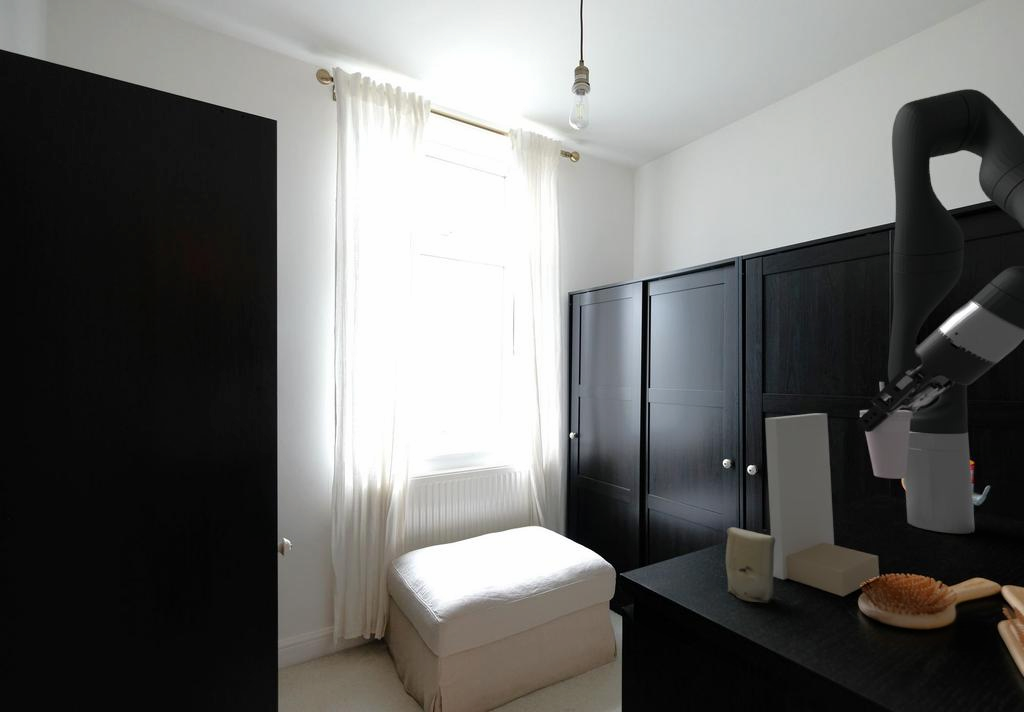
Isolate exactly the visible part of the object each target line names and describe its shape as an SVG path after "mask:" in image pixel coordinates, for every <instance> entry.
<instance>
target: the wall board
mask: <svg viewBox="0 0 1024 712" xmlns="http://www.w3.org/2000/svg"><path fill="white" fill-rule="evenodd" d="M764 420H765V438H766V439H765V441H766V442H765V443H766V461H767V462H766V463H767V466H766V467H767V480H768V481H767V482H768V483H767V484H768V503H769V504H768V506H769V525H770V536H772V537H774V538H775V544H774V566H773V578H776V579H780V580H782V581H785V580H787V579H790V580H791V581H794V582H798V583H801V584H804V585H807V586H810V587H813V588H816V589H820V590H822V591H826V592H829V593H832V594H833V595H834V594H835V595H837V596H840V597H845V596H847V595H849V594H851V593H853V592H855V591H857V590H859V589H861V588H860V584H861V583H862V582H865V581H868V580H869V579H871V578H874V577H877V576H879V577H880V568H879V555H876V554H872V553H869V552H868V553H867V552H863V551H860V550H859V551H858V550H855V549H850V548H847V547H843V546H839V545H836V544H835V536H834V535H835V534H834V519H833V518H834V517H833V516H834V515H833V502H832V501H833V499H832V498H833V497H832V481H831V480H832V479H831V465H830V464H831V463H830V462H831V461H830V444H829V443H830V442H829V429H828V428H829V427H828V413H820V412H819V413H818V412H817V413H807V414H805V413H804V414H796V415H795V414H794V415H785V416H783V415H782V416H775V417H774V416H773V417H766V418H764Z"/></svg>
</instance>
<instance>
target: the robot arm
mask: <svg viewBox="0 0 1024 712" xmlns="http://www.w3.org/2000/svg"><path fill="white" fill-rule="evenodd" d="M892 126H893V127H892V132H891V133H892V135H891V149H892V150H891V151H892V164H893V165H892V166H893V178H894V190H895V193H894V195H895V219H894V221H895V222H894V223H895V225H894V241H893V242H894V243H893V259H892V261H893V262H892V265H893V268H892V270H893V271H892V273H893V276H892V278H893V281H892V282H893V283H892V284H893V285H892V286H893V288H892V289H893V311H892V313H893V314H892V325H891V335H890V342H889V343H890V344H889V352H888V363H887V377H888V383H887V384H886V385H884V388H883V389H882V390H881V391H880V390H879V392H877V394H876V395H875V396H874V397H872V398H871V400H870V402H871V403H872V404H873V406H871V408H869V409H867V410H868V411H867V412H866V413H865V414H864V415H863V416H862V417H860V416H859V418H858V419H857V420H856V424H857V426H859V427H860V428H861V429H862V430H863V431H864V432H865V431H866V432H871V431H873V430H874V429H875V428H876V427H878V426H879V425H880V424H881V423H882V422H883V421H885V420H886V419H887V418H888V417H889V416H890V415H893V414H894V413H895V412H896V411H898V410H907V411H912V415H913V418H911V419H910V431H909V443H908V455H907V466H906V478H904V484H905V499H906V517H907V519H906V520H907V523H908V524H909V525H911V526H913V527H916V528H919V529H923V530H928V531H932V532H940V533H947V534H971V532H972V533H975V531H976V529H975V528H976V527H975V516H974V500H973V497H974V496H973V483H972V472H971V471H972V470H971V459H970V458H971V457H970V455H971V454H970V443H969V428H968V417H969V416H968V392H967V391H968V390H967V389H968V386H969V385H971V384H973V383H974V382H976V381H977V380H978V379H979V378H980V377H981V376H983V375H984V374H985V373H987V371H989V370H991V368H993V367H994V366H995V365H996V364H998V363H999V362H1000V361H1001V360H1002V359H1004V358H1006V356H1008V355H1009V354H1010V353H1011V352H1013V351H1014V350H1015V349H1016V348H1017V347H1018V346H1019V345H1020V344H1021V343H1022V341H1024V266H1022V265H1014V266H1010V267H1008V268H1006V269H1005V270H1002V271H1001V272H1000V273H999V274H998V275H996V277H995V278H993V279H992V280H990V282H989V283H988V284H986V285H985V286H984V287H983V288H982V289H981V290H980V291H979V292H978V293H976V294H975V295H974V296H973V297H972V298H971V299H970V300H969V301H967V303H965V304H964V305H962V306H961V307H960V308H957V310H955V311H954V312H953V313H952V314H951V315H950V316H949V317H948V318H947V319H946V320H945V321H944V322H943V323H941V324H940V325H939V326H938V327H936V329H935V330H934V331H933V332H932V333H930V334H929V335H928V336H927V337H926V338H924V340H923V341H922V342H920V344H916V340H917V337H918V335H919V332H920V330H921V328H922V326H923V325H924V323H925V321H926V319H928V317H929V316H930V315H931V313H932V312H933V311H934V310H935V309H936V308H937V306H939V305H940V304H941V302H942V301H943V300H944V299H945V297H947V295H948V294H949V293H950V292H951V290H952V289H953V288H954V287H955V286H956V284H957V283H958V281H959V280H960V277H961V276H962V272H963V263H964V252H965V251H964V249H965V236H964V233H963V229H962V228H961V226H960V225H959V223H958V222H957V221H956V219H955V218H954V217H953V216H952V214H951V213H950V211H949V210H948V209H947V208H946V207H945V206H944V204H943V203H942V202H941V200H940V199H939V198H938V196H937V194H936V192H935V191H934V188H933V185H932V179H931V172H930V171H931V170H930V167H931V166H930V163H931V162H930V159H931V158H936V157H937V158H938V157H942V156H945V155H947V156H948V155H952V154H956V153H959V152H962V151H963V152H964V151H966V152H968V153H972V154H974V155H976V156H978V157H980V158H981V162H980V165H979V173H978V181H979V186H980V189H981V190H982V192H983V194H985V196H986V197H987V198H988V199H989V200H990V201H991V202H993V203H994V205H996V206H998V207H999V208H1000V209H1001V210H1002V211H1004V212H1005V213H1007V214H1008V216H1009V217H1011V218H1013V219H1014V220H1017V222H1018V224H1019V225H1020V226H1021V227H1022V229H1023V230H1024V134H1023V132H1022V131H1021V130H1020V129H1019V128H1018V127H1017V126H1016V125H1015V123H1014V122H1013V121H1012V120H1011V119H1010V118H1009V117H1008V116H1007V115H1006V114H1005V113H1004V112H1003V110H1002V109H1001V108H1000V107H999V106H998V105H997V104H996V103H995V102H994V101H993V100H992V99H991V98H990V97H989V96H987V95H986V94H985V93H983V92H981V91H979V90H978V89H971V88H967V89H966V88H964V89H960V90H959V89H958V90H955V91H950V92H945V93H941V94H937V95H932V96H929V97H923V98H919V99H915V100H912V101H909V102H907V103H905V104H903V105H902V106H901V107H900V108H899V110H898V111H897V113H896V115H895V118H894V121H893V125H892ZM937 397H939V398H938V400H937V401H936V402H935V403H934V404H932V405H930V404H931V403H932V402H933V401H934V400H935V399H936V398H937ZM890 398H891V399H893V400H892V401H891V403H888V402H887V400H888V399H890ZM928 405H929V406H928ZM927 406H928V407H927ZM974 530H975V531H974Z"/></svg>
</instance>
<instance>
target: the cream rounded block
mask: <svg viewBox="0 0 1024 712" xmlns="http://www.w3.org/2000/svg"><path fill="white" fill-rule="evenodd" d="M726 533H727V541H726V546H725V547H726V549H725V569H726V575H727V592H728V593H730V594H732V595H734V596H736V597H737V598H738V599H740V600H742V601H747V602H751V603H753V602H754V603H767V604H769V603H771V602H772V601H773V598H774V597H773V596H774V577H773V566H774V544H775V538H774V537H772V536H771V535H768V534H763V533H758V532H756V531H755V532H754V531H750V530H746V529H743V528H742V529H741V528H740V527H739V528H738V527H733V526H732V527H729V528H727V529H726Z"/></svg>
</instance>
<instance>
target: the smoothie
mask: <svg viewBox="0 0 1024 712" xmlns="http://www.w3.org/2000/svg"><path fill="white" fill-rule="evenodd" d="M884 387H885V381H879V392H880V391H881V390H882V389H883V388H884ZM868 410H869V409H861V410H859V418H860V417H862V416H863V415H864V414H865V413H866V412H867V411H868ZM911 418H913V415H912V411H907V410H898V411H896V412H895V413H894V414H893V415H890V416H889V417H888V418H887V419H886V420H885V421H883V422H882V423H881V424H880V425H879V426H878V427H876V428H875V429H874V430H873V431H871V432H866V431H865V430H864V433H865V437H866V442H867V446H868V452H869V456H870V462H871V466H872V471H873V476H875V477H877V478H883V479H896V480H897V479H901V480H902V479H905V478H906V466H907V455H908V443H909V431H910V419H911Z"/></svg>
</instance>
